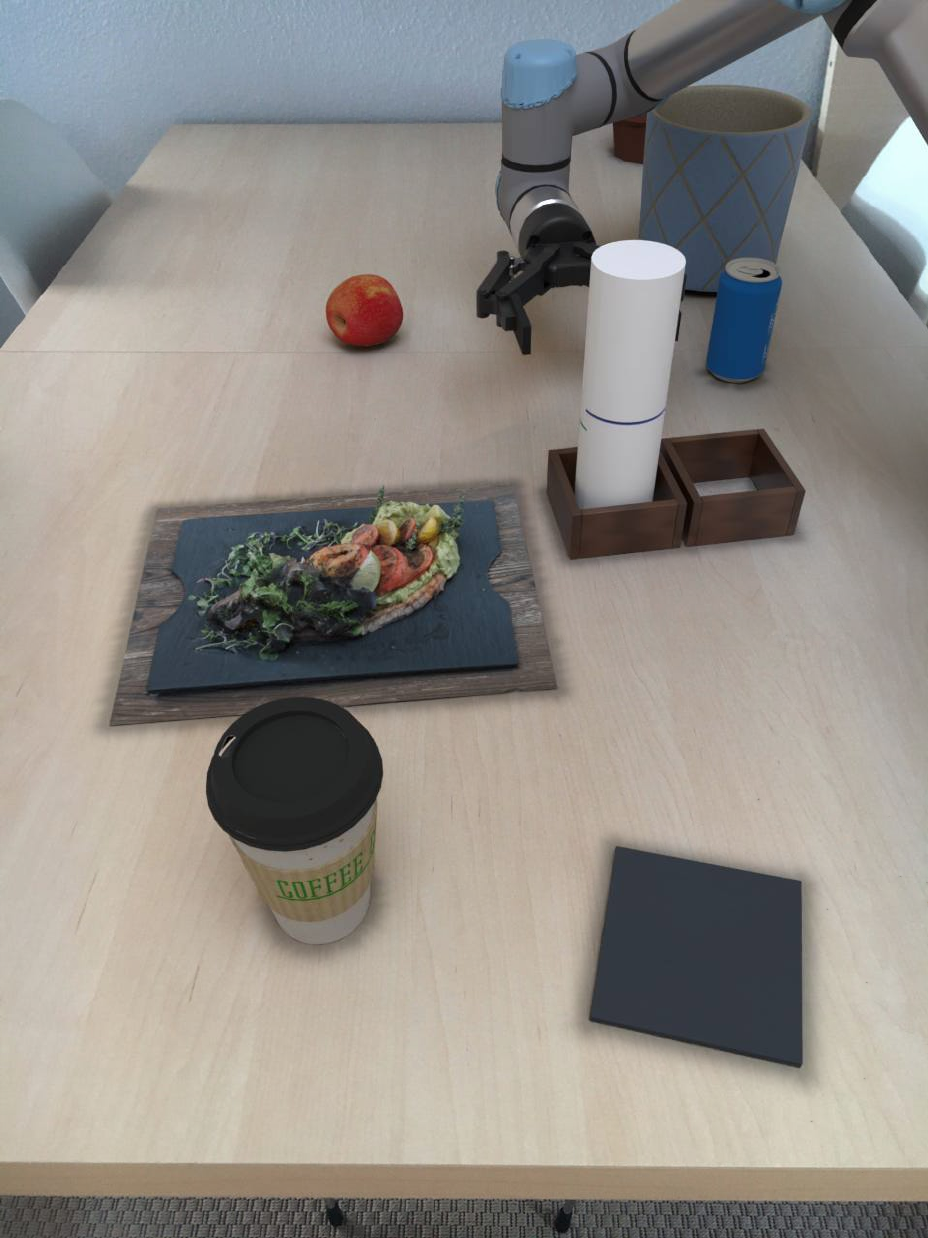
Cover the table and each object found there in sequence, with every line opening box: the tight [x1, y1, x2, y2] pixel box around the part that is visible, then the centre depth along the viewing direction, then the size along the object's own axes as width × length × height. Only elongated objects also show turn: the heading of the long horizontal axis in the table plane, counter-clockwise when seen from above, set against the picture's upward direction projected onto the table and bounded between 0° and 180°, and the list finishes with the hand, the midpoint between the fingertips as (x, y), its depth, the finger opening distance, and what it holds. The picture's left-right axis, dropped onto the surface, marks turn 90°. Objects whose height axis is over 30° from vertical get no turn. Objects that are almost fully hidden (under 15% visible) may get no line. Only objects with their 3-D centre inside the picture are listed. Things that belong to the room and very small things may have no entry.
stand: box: [545, 428, 807, 560], centre depth 91 cm, size 21×10×5 cm, turn 98°
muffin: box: [612, 113, 647, 164], centre depth 160 cm, size 12×11×10 cm
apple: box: [325, 273, 404, 347], centre depth 116 cm, size 8×8×8 cm
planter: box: [637, 84, 812, 293], centre depth 124 cm, size 19×19×20 cm
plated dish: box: [108, 483, 558, 727], centre depth 84 cm, size 35×28×7 cm
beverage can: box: [705, 258, 783, 384], centre depth 108 cm, size 6×6×12 cm
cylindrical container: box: [574, 239, 686, 509], centre depth 84 cm, size 7×7×25 cm
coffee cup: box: [205, 697, 384, 945], centre depth 59 cm, size 10×10×15 cm
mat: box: [589, 845, 804, 1069], centre depth 61 cm, size 12×12×1 cm
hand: (602, 334), depth 88 cm, fingers open, 13 cm apart
